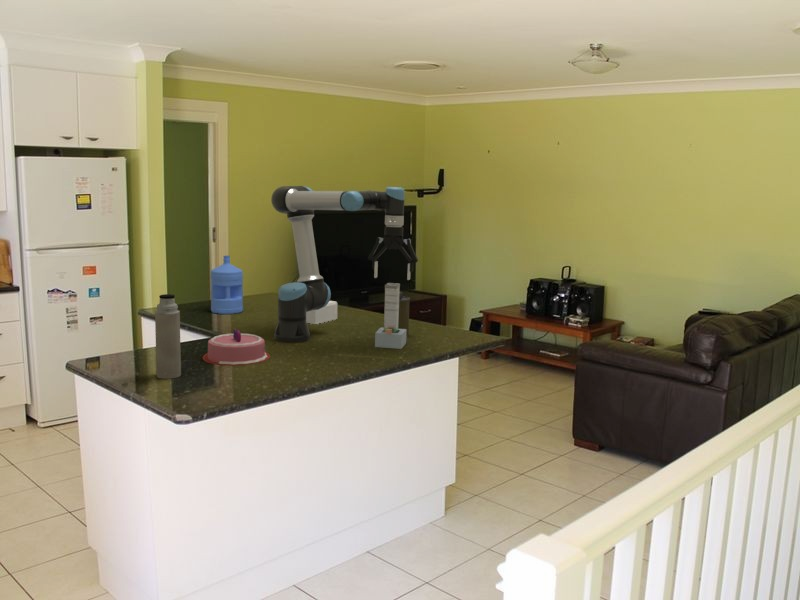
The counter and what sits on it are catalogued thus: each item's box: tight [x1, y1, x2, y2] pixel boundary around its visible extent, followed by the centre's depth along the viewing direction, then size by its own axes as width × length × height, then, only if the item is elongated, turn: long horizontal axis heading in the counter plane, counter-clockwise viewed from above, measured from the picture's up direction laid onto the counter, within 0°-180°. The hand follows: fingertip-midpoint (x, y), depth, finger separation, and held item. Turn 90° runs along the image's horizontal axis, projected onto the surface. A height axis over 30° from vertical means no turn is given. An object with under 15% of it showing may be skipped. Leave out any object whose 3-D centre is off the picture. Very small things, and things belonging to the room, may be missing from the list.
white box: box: [306, 300, 339, 325], centre depth 351 cm, size 18×18×16 cm
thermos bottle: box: [154, 293, 182, 380], centre depth 248 cm, size 8×8×28 cm
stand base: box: [374, 327, 407, 350], centre depth 301 cm, size 13×13×9 cm
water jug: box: [210, 255, 244, 315], centre depth 363 cm, size 16×16×28 cm
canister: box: [398, 291, 411, 338], centre depth 319 cm, size 11×10×20 cm
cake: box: [202, 328, 271, 367], centre depth 277 cm, size 25×25×11 cm
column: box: [383, 282, 401, 332], centre depth 299 cm, size 5×7×19 cm
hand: (392, 278), depth 297 cm, fingers open, 13 cm apart
